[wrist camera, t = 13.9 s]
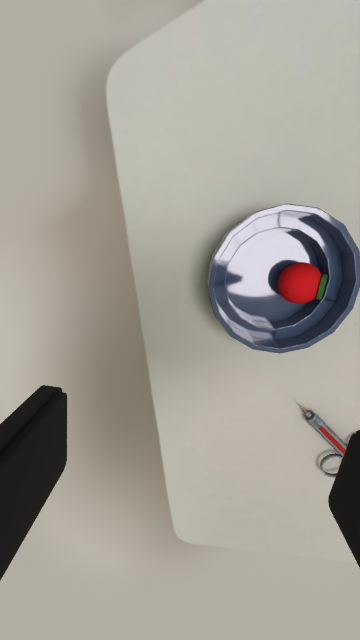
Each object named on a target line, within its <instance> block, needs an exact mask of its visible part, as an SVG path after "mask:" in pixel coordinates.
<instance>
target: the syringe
mask: <svg viewBox="0 0 360 640" xmlns="http://www.w3.org/2000/svg"><path fill="white" fill-rule="evenodd" d="M294 401H295V400H294ZM295 402H296V401H295ZM296 403H297V402H296ZM297 404H298V403H297ZM298 405H299V404H298ZM299 406H300V405H299ZM300 407H301V406H300ZM301 408H302V407H301ZM302 409H303V408H302ZM303 411H304V412H305V414H306V416H305V419H306V420H307V421H308V422H309V423H310V424H311V425H312V426H313V427H314V428H315V429H316V430H317V431H318V432H319V433H320V434H321V435H322V436H323V437H324V438H325V439H326V440H327V441H328V442H329V443H330V444H331V445H332V446H333V447H334V448H335V449H336V450H337V452H338V453H339V454H336V453H335V454H329V455H327V456H325V457H324V458H323V459H322V460H321V462H320V467H321V470H322V471H323V473H324V474H325V475H326V476H329V477H336V476H337V473H335V474H331V473H327V472H325V471H324V470H323V465H324V463H325V462H326V461H327V460H328V459H330V458H333V457H339V458H343V457H344V454H345V451H346V448H347V445H346V444H345V443H344V442H343V441H342V440H341V439H340V438H339V437H338V436H337V435H336V434H335V433H334V432H333V431H332V430H331V429H330V428H329V427H328V426H327V425H326V424H325V423H324V422H323V421H322V420H321V419H320V418H319V417H318V416H317V415H316V414H315V413H314V412H308V411H307V410H305V409H303Z"/></svg>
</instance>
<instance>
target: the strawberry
mask: <svg viewBox="0 0 360 640" xmlns="http://www.w3.org/2000/svg"><path fill="white" fill-rule="evenodd" d="M327 278H328V275H327V274H323V275H321V273H320V271H319V270H318V269H317V268H316V267H315V266H313V265H312V264H309V263H305V262H298V263H294V264H291V265H289V266H288V267H286V268H285V269H284V270H283V271H282V272H281V274H280V276H279V278H278V290H279V292H280V294H281V296H282V297H283V298H284V299H285V300H287V301H289V302H291V303H295V304H303V303H307V302H310V301H312V300H313V299H314V298H316V297H317V298H316V299H318V300H321V299H322V296H323V293H324V289H325V286H326V282H327Z"/></svg>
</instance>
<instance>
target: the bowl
mask: <svg viewBox="0 0 360 640" xmlns="http://www.w3.org/2000/svg"><path fill="white" fill-rule="evenodd" d="M298 262H305V263H309V264H312V265H313V266H315V267H316V268H317V269H318V270H319V271H320V273H321V275H323V274H327V275H328V278H327V282H326V286H325V289H324V293H323V296H322V299H321V300H318V299H316V298H317V297H316V298H314V299H313V300H312V301H310V302H307V303H303V304H295V303H291V302H289V301H287V300H285V299H284V298H283V297H282V296H281V294H280V292H279V290H278V278H279V276H280V274H281V272H282V271H283V270H284V269H285V268H286V267H288V266H289V265H291V264H294V263H298ZM207 284H208V290H209V294H210V298H211V302H212V307H213V311H214V314H215V316H216V317H217V319H218V320H219V321H220V323H221V324H222V326H223V327H224V328H225V330H226V331H227V332H228V334H229V335H230V336H231V337H233V338H235V339H236V340H238V341H240V342H242V343H243V344H245V345H247V346H248V347H250V348H252V349H255V350H262V351H268V352H275V353H284V352H289V351H294V350H299V349H304V348H308V347H310V346H312V345H313V344H315V343H317V342H318V341H320V340H322V339H323V338H325V337H327V336H328V335H330V334H332V333H333V332H334V331H335V330H336V329H337V327H338V326H339V325H340V324H341V323H342V321H343V320H344V319H345V318H346V316H347V315H348V314H349V313H350V312H351V310H352V309H353V306H354V303H355V300H356V297H357V294H358V291H359V288H360V251H359V249H358V247H357V246H356V244H355V242H354V241H353V239H352V237H351V235H350V234H349V232H348V230H347V229H346V227H345V225H344V224H342V223H341V222H339V221H338V220H336V219H335V218H333V217H332V216H330V215H329V214H327V213H325V212H324V211H322V210H321V209H319V208H315V207H308V206H301V205H293V204H283V205H280V206H276V207H273V208H269V209H266V210H262V211H258V212H255V213H253V214H252V215H250V216H248V217H246V218H245V219H243V220H242V221H241V222H240V223H238V224H237V225H236V226H234V227H233V228H232V229H230V230H229V231H228V232H226V233H225V234H224V236H223V238H222V239H221V241H220V242H219V244H218V246H217V247H216V249H215V251H214V252H213V254H212V256H211V260H210V266H209V272H208V278H207Z"/></svg>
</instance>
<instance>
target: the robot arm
mask: <svg viewBox="0 0 360 640" xmlns="http://www.w3.org/2000/svg"><path fill="white" fill-rule="evenodd" d="M66 461H67V394H66V393H63V392H62V389H61V388H60V387H53V386H45V385H43V386H41V387H40V388H39V389H37V390H36V391H35V392H34V393H33V394H32V395H31V396H30V397H29V398H28V399H27V400H26V401H25V402H24V403H23V404H21V405H20V406H19V407H18V408H17V409H16V410H15V411H14V412H13V413H12V414H11V415H10V416H9V417H8V418H6V419H5V420H4V421H3V422H2V423H1V424H0V580H1V578H2V577H3V575H4V573H5V571H6V570H7V568H8V566H9V564H10V563H11V561H12V559H13V557H14V556H15V554H16V552H17V550H18V549H19V547H20V545H21V544H22V542H23V540H24V538H25V537H26V535H27V533H28V531H29V530H30V528H31V526H32V524H33V523H34V521H35V519H36V518H37V516H38V514H39V512H40V510H41V509H42V507H43V505H44V504H45V502H46V500H47V498H48V497H49V495H50V493H51V491H52V490H53V488H54V486H55V484H56V483H57V481H58V479H59V477H60V476H61V474H62V472H63V470H64V467H65V465H66ZM329 507H330V510H331V512H332V514H333V516H334V518H335V520H336V522H337V524H338V526H339V528H340V530H341V532H342V534H343V536H344V538H345V540H346V542H347V544H348V546H349V548H350V550H351V551H352V553H353V555H354V557H355V559H356V561H357V563H358V565H359V567H360V430H358V431H357V432H356V434H353V435H352V436H351V438H350V440H349V443H348V446H347V448H346V451H345V454H344V457H343V459H342V462H341V465H340V467H339V470H338V473H337V476H336V478H335V481H334V484H333V486H332V489H331V492H330V495H329Z"/></svg>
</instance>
